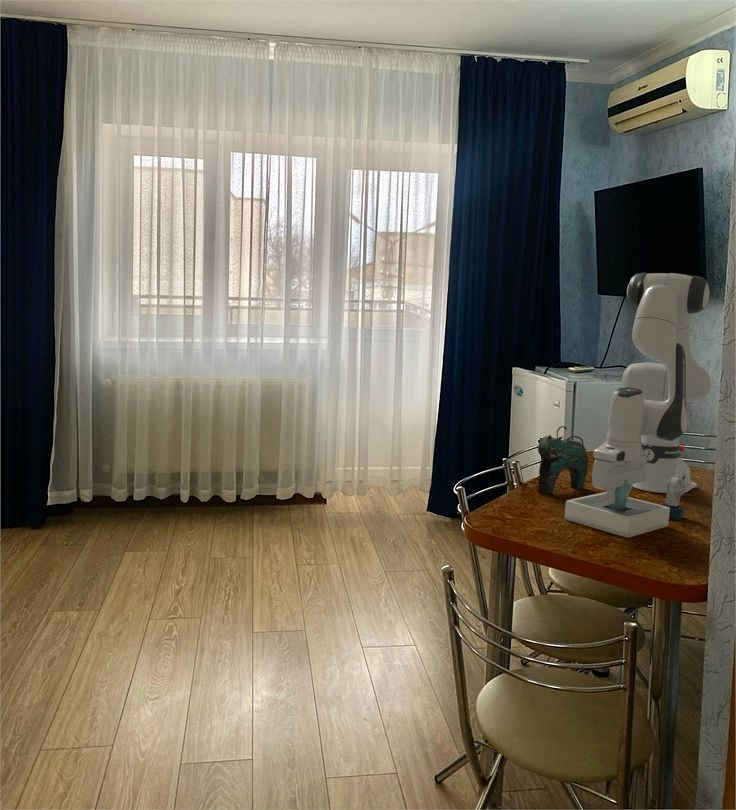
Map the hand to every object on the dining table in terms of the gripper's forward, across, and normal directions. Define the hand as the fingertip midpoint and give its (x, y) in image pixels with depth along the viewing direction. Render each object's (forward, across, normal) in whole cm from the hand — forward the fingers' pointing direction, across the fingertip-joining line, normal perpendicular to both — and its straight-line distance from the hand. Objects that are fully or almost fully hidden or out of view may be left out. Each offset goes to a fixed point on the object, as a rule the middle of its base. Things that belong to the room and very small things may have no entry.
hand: (617, 501), depth 220 cm
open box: (+6, 0, 0) cm, 6 cm away
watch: (+6, -19, +5) cm, 20 cm away
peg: (+4, 0, 0) cm, 4 cm away
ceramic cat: (+6, -16, -30) cm, 34 cm away
